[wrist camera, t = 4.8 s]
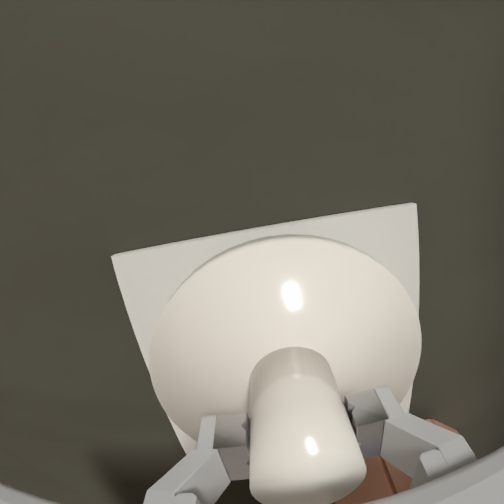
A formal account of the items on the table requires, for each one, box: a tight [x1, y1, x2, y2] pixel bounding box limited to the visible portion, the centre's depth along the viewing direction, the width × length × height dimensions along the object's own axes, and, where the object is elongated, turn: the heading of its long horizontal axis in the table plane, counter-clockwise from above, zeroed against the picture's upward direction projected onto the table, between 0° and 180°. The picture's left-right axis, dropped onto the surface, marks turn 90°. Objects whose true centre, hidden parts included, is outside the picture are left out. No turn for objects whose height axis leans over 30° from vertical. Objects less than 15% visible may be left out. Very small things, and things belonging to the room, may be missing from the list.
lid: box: [149, 234, 421, 504], centre depth 10 cm, size 11×11×6 cm
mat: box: [111, 203, 419, 455], centre depth 13 cm, size 12×12×1 cm
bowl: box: [330, 419, 460, 504], centre depth 14 cm, size 9×9×5 cm
